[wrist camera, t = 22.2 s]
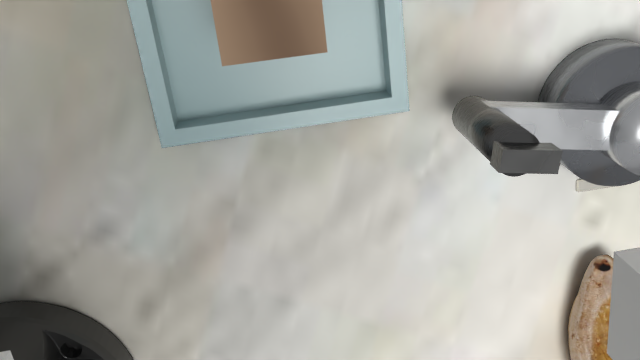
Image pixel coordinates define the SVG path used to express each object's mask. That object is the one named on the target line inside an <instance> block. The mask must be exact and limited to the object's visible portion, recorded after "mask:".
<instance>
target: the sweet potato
mask: <svg viewBox="0 0 640 360" xmlns="http://www.w3.org/2000/svg"><path fill="white" fill-rule="evenodd" d="M613 260H614V259H613V258H612V257H610V256H609V255H600V256H597V257H595V258H594V259H593V260H592V261H591V262H590V264H589V266H588V268H587V270H586V272H585V274H584V277H583V280H582V282H581V285H580V289H579V292H578V294H577V296H576V298H575V300H574V302H573V306H572V310H571V313H570V317H569V326H568V333H569V351H570V357H571V360H612V358H611V357H610V356H609V355H608V354H607V345H608V331H609V316H610V302H611V288H612V274H613Z"/></svg>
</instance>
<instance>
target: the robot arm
mask: <svg viewBox="0 0 640 360" xmlns="http://www.w3.org/2000/svg"><path fill="white" fill-rule="evenodd" d="M607 354H608V355H609V356H610V357H611V358H612V360H640V248H634V249H628V250H622V251H616V252H614V260H613V274H612V288H611V302H610V316H609V331H608V345H607ZM0 360H133V359H132V357H131V356H130V354H129V353H128V351H127V350H126V348H125V347H124V346H123V344H122V343H121V342H120V341H119V340H118V339H117V338H116V337H115V336H114V335H113V334H112V333H111V332H109V331H108V330H107V329H106V328H104V327H103V326H101V325H100V324H99V323H97V322H95V321H94V320H92V319H90V318H88V317H86V316H84V315H82V314H80V313H78V312H75V311H72V310H70V309H66V308H63V307H60V306H56V305H51V304H45V303H38V302H8V303H0Z"/></svg>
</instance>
